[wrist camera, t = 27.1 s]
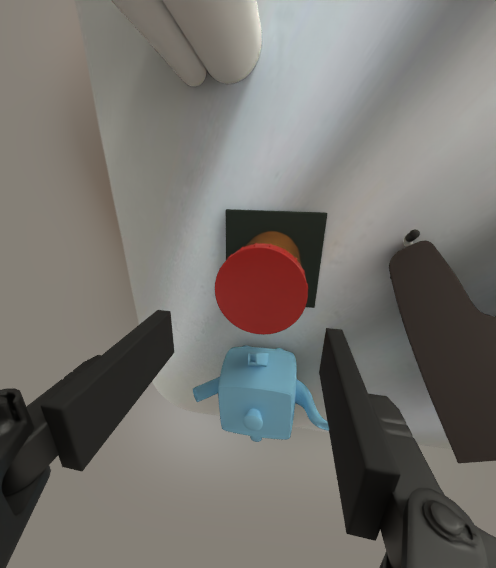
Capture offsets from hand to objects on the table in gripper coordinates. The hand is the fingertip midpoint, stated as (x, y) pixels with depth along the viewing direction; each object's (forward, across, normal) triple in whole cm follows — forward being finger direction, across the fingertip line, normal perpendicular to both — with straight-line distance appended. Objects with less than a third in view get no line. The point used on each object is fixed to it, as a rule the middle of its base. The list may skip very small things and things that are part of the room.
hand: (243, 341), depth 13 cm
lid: (+7, 0, 0) cm, 7 cm away
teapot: (+19, 0, -16) cm, 25 cm away
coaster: (+19, 0, 0) cm, 19 cm away
